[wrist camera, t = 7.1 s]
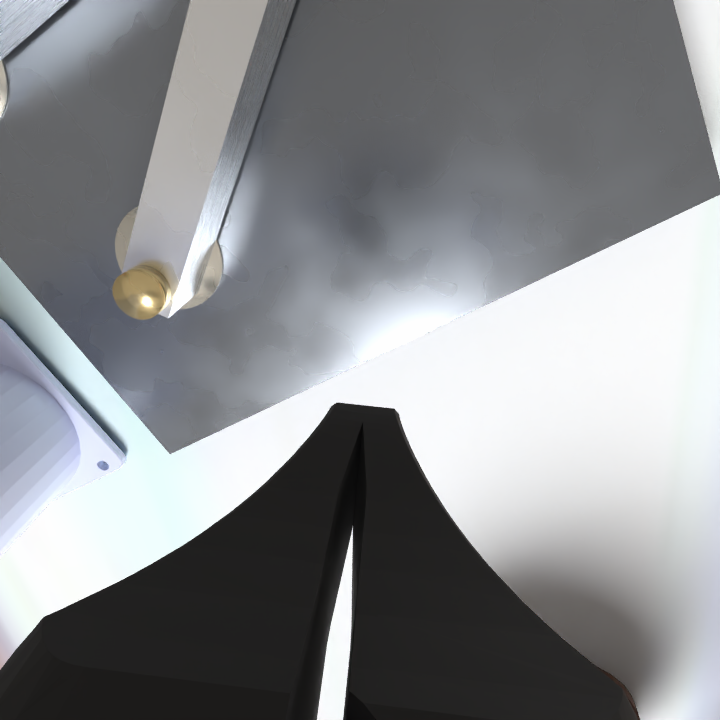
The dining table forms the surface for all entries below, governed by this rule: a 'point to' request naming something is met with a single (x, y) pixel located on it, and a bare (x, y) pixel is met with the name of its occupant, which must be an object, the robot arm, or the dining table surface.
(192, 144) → the leg
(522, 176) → the bolt plate
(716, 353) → the dining table surface
